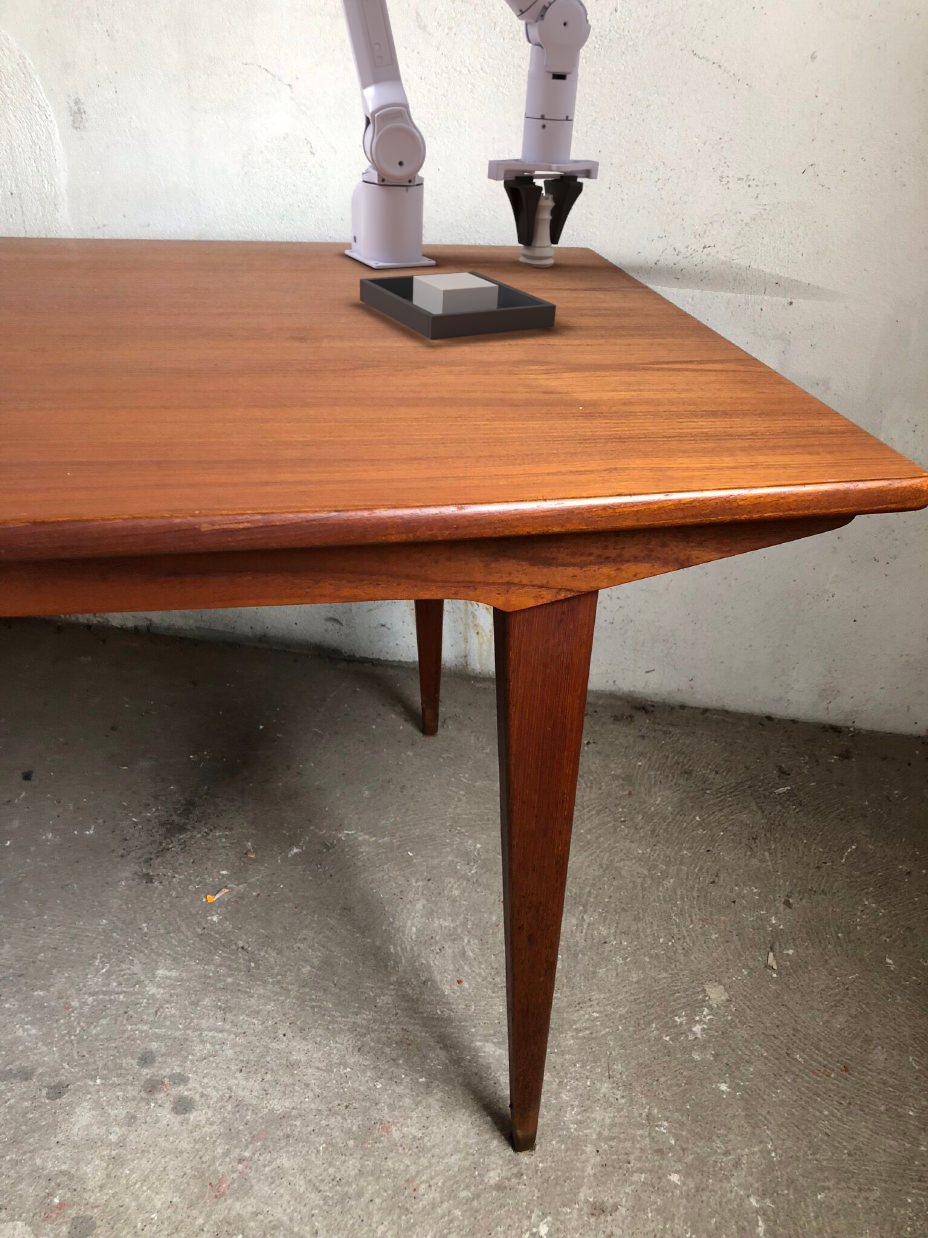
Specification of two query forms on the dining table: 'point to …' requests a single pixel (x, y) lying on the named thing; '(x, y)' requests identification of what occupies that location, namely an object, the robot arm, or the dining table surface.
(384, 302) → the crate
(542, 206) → the rook chess piece
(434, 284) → the grey block
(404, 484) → the dining table surface
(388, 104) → the robot arm
